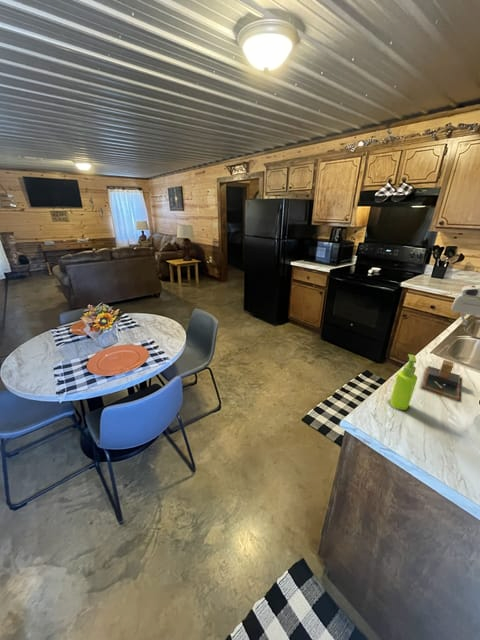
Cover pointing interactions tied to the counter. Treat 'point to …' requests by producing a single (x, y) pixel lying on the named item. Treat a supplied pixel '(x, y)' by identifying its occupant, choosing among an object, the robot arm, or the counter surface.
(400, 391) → the soap dispenser
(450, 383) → the eraser
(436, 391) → the chalkboard
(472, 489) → the counter surface
